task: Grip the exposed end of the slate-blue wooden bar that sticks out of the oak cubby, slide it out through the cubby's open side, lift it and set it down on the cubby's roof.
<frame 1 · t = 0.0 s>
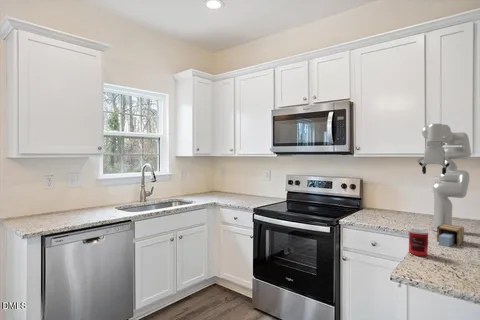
hand: (433, 174, 174), 37 cm above the countertop, tool pointing down, fingers open, 9 cm apart
cubby: (450, 241, 166), on the countertop
canned food: (417, 254, 141), on the countertop
bar: (446, 244, 160), on the countertop
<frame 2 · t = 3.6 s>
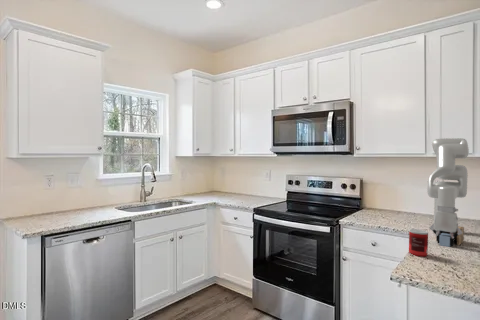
hand: (445, 243, 158), 1 cm above the countertop, tool pointing down, fingers closed on bar, 4 cm apart
bar: (445, 243, 160), on the countertop, touching gripper
everything else where it was.
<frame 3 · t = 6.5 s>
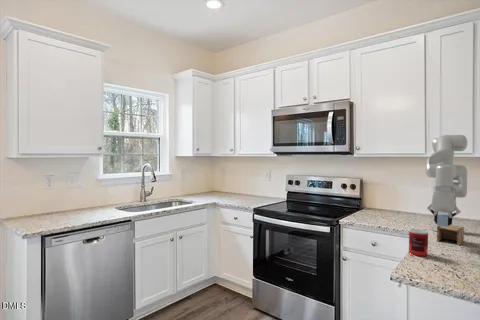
hand: (442, 223, 155), 12 cm above the countertop, tool pointing down, fingers closed on bar, 4 cm apart
bar: (443, 224, 157), point 11 cm above the countertop, touching gripper
everything else where it was.
when the fingers open (10 cm above the countertop, at t = 9.5 s): bar moves 1 cm, resting on cubby.
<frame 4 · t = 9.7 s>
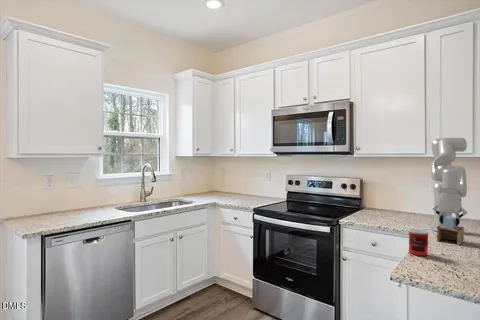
hand: (449, 224, 163), 10 cm above the countertop, tool pointing down, fingers open, 6 cm apart
bar: (449, 226, 166), point 8 cm above the countertop, touching cubby
everything else where it was.
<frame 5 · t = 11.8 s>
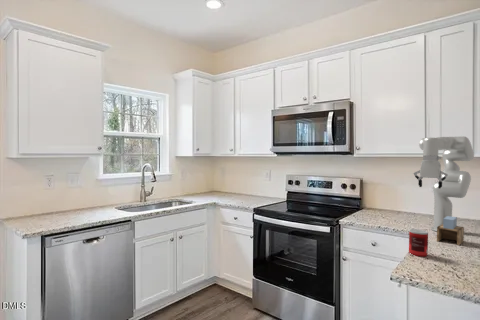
hand: (430, 187, 176), 29 cm above the countertop, tool pointing down, fingers open, 9 cm apart
nothing on the countertop moved.
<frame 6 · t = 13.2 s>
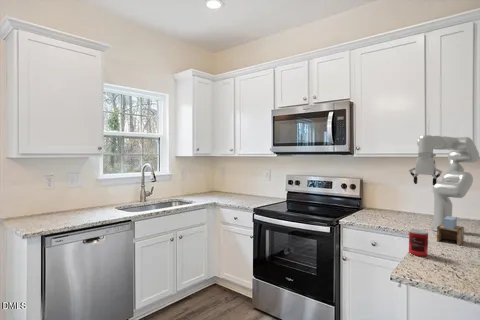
hand: (424, 184, 179), 30 cm above the countertop, tool pointing down, fingers open, 9 cm apart
nothing on the countertop moved.
at the end: bar inside the target area on the cubby (0.3 cm from its centre), point 8.0 cm above the cubby's base; bar tilted 0°; the gripper is holding nothing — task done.
